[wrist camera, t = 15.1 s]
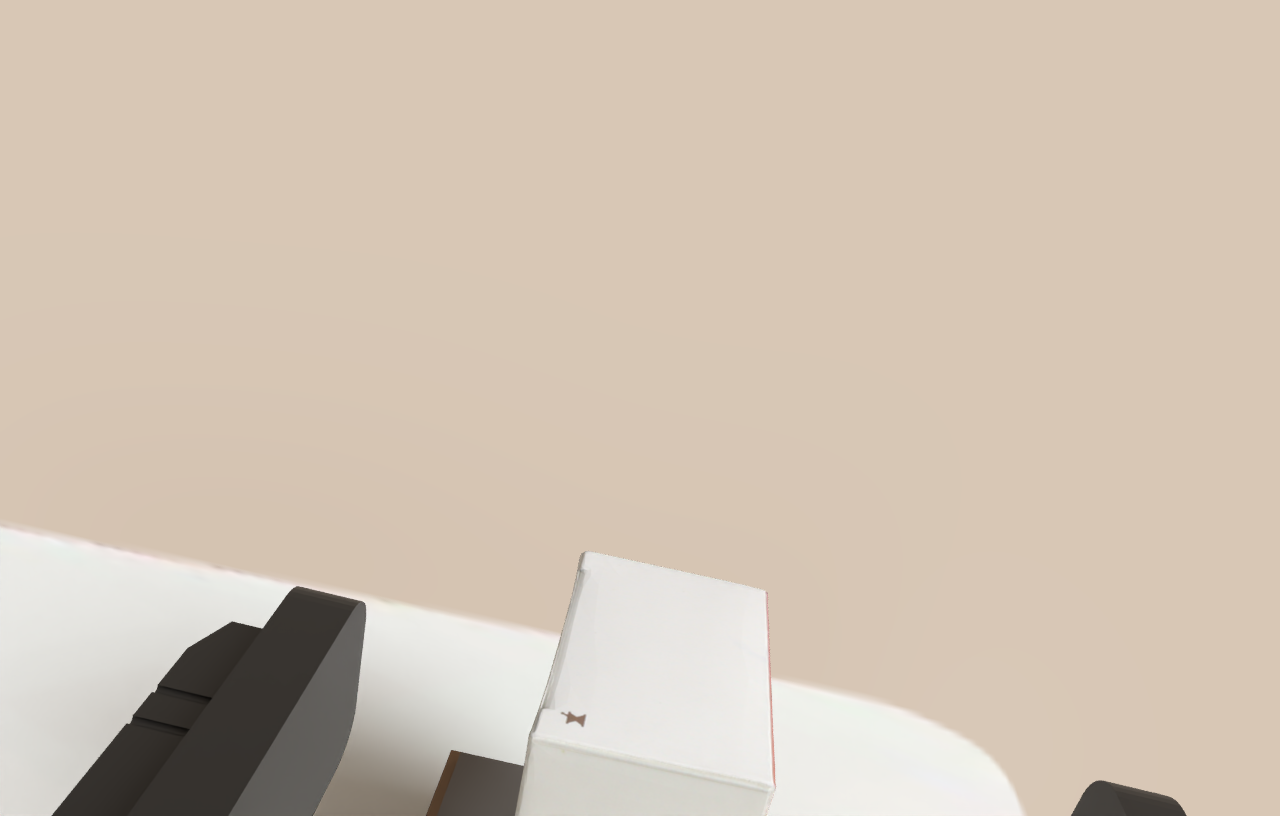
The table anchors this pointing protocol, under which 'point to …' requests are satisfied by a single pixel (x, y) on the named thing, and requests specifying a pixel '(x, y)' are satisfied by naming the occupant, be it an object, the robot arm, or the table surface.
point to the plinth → (476, 787)
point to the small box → (654, 699)
